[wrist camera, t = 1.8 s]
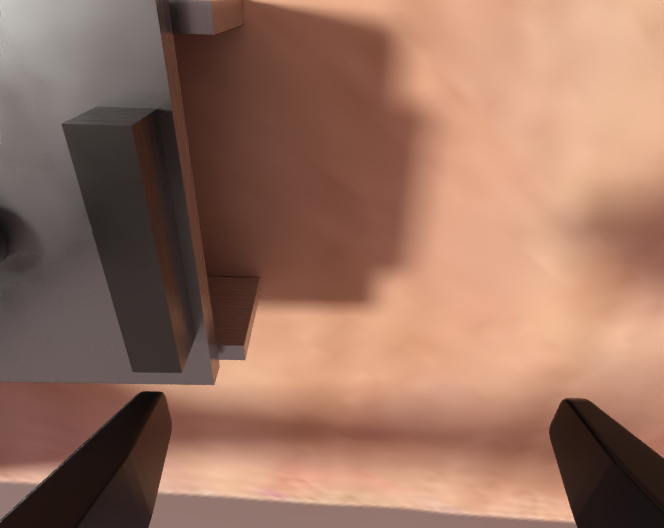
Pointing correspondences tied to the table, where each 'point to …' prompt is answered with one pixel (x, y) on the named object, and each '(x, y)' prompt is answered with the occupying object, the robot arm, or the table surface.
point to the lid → (98, 200)
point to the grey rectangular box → (225, 292)
